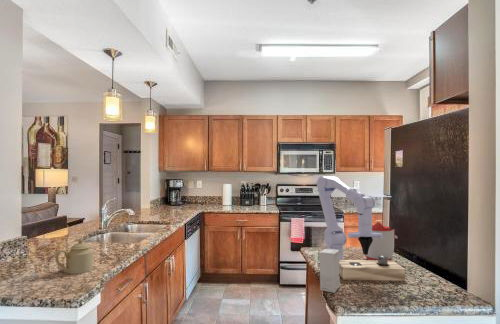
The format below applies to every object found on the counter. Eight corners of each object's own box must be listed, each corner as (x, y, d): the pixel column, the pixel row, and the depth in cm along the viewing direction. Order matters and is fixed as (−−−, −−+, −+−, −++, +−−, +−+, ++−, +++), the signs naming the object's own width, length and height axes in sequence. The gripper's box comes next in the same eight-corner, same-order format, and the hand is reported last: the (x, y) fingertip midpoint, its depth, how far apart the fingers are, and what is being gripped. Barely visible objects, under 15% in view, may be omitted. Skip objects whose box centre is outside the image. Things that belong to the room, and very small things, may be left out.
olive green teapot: (75, 278, 135) (75, 242, 136) (53, 276, 137) (53, 241, 138) (98, 267, 150) (98, 235, 150) (78, 266, 152) (78, 234, 152)
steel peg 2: (376, 265, 142) (376, 255, 142) (385, 265, 142) (385, 255, 142) (379, 268, 138) (379, 257, 138) (389, 268, 138) (389, 257, 138)
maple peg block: (336, 270, 147) (336, 259, 147) (392, 271, 146) (392, 260, 146) (343, 279, 135) (343, 268, 135) (405, 280, 134) (404, 268, 134)
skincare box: (334, 293, 120) (334, 254, 120) (319, 290, 123) (319, 252, 123) (340, 286, 127) (340, 249, 127) (325, 283, 130) (325, 247, 130)
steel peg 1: (349, 273, 143) (349, 262, 143) (358, 273, 142) (358, 263, 143) (352, 276, 139) (352, 265, 139) (361, 276, 138) (361, 265, 139)
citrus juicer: (404, 265, 156) (403, 224, 157) (368, 264, 156) (368, 224, 157) (390, 256, 172) (390, 219, 172) (358, 256, 172) (358, 219, 172)
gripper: (351, 224, 137) (351, 256, 137) (385, 225, 137) (385, 256, 136) (346, 222, 144) (347, 252, 144) (379, 222, 144) (379, 252, 143)
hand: (365, 254), depth 141 cm, fingers closed
